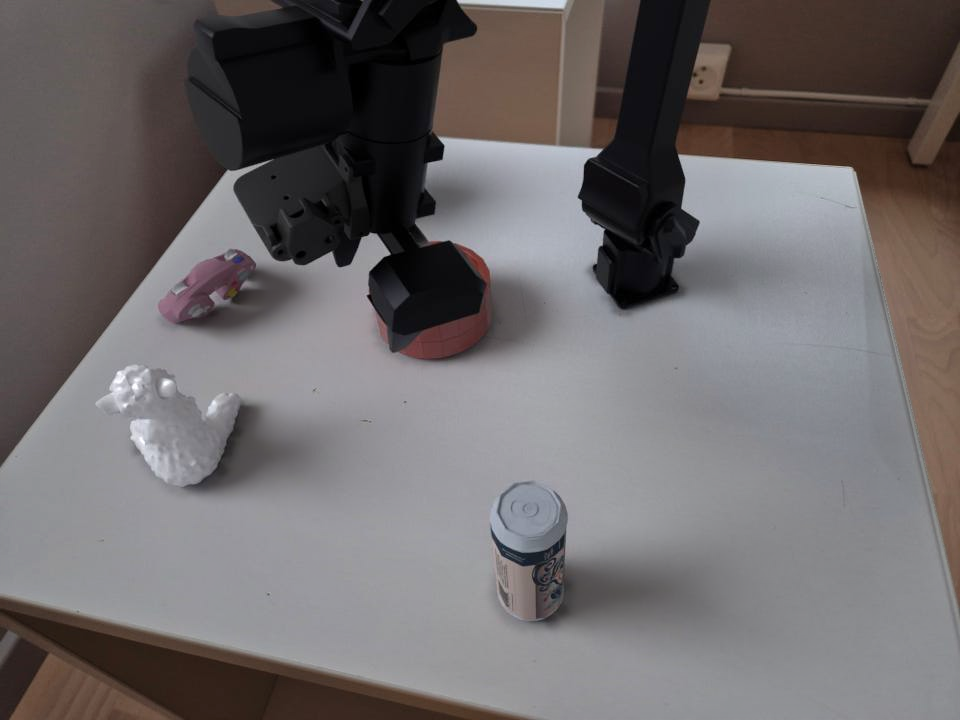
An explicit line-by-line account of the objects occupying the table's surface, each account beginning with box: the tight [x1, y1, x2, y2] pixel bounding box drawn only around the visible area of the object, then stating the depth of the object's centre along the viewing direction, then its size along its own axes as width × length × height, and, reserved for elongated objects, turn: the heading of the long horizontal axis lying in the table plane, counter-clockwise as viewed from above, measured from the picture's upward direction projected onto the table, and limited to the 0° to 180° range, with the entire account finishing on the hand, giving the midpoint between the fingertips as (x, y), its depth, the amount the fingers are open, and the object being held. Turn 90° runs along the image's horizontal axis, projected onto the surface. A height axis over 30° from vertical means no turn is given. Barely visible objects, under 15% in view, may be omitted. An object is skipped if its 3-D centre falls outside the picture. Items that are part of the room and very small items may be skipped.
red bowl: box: [368, 240, 494, 360], centre depth 71 cm, size 11×11×5 cm
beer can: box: [489, 480, 569, 622], centre depth 50 cm, size 5×5×12 cm
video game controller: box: [157, 248, 257, 324], centre depth 74 cm, size 10×5×7 cm, turn 139°
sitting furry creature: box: [95, 363, 242, 488], centre depth 60 cm, size 10×9×12 cm
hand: (369, 305), depth 55 cm, fingers open, 9 cm apart
